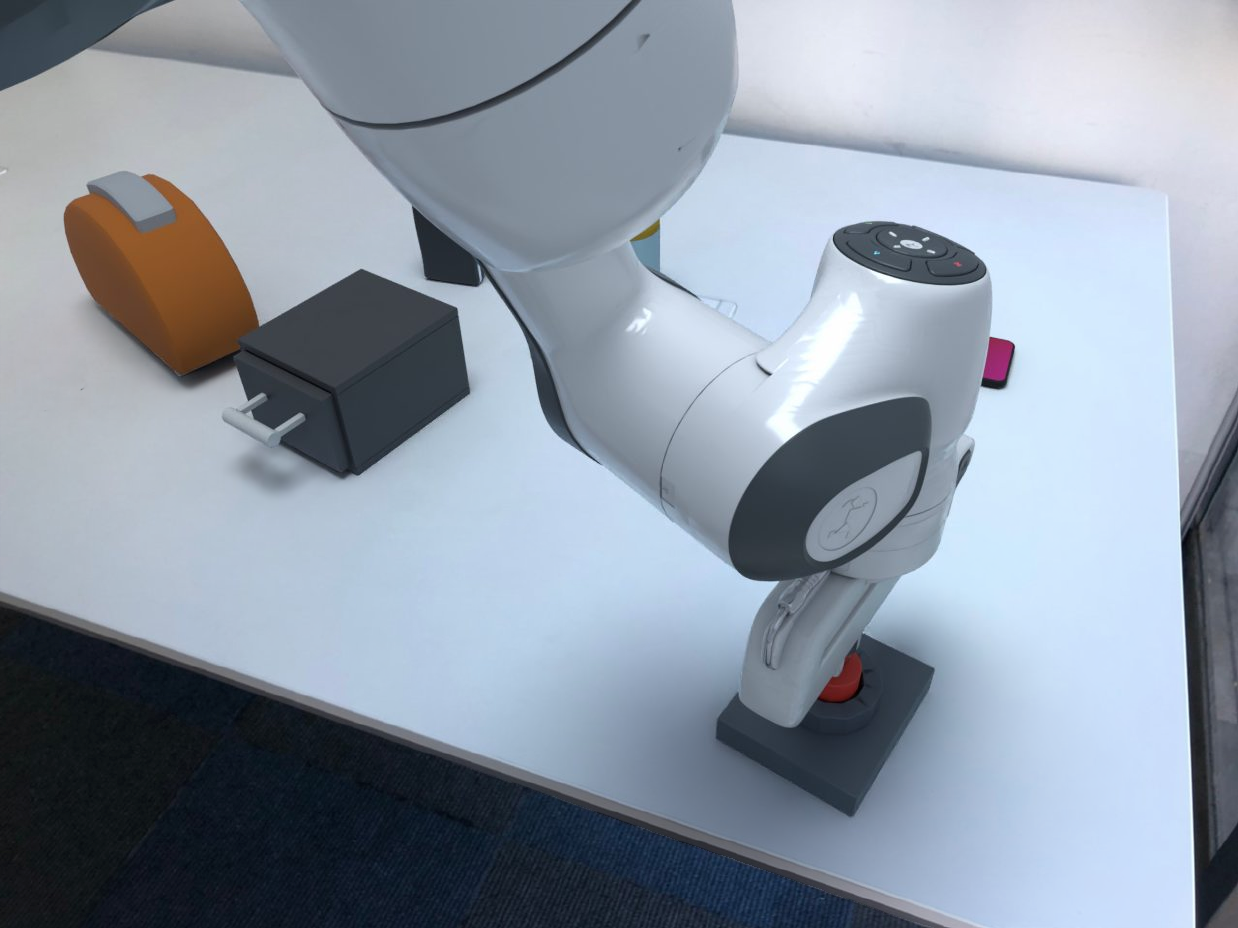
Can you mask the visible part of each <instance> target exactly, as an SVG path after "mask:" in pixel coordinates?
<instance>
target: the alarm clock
mask: <svg viewBox="0 0 1238 928" xmlns="http://www.w3.org/2000/svg"><path fill="white" fill-rule="evenodd" d="M86 188H87V191H88V194H85V195H82V196H79V197H76V198H74V199H73V200H71V201H70V202H69V203H68V204H67V205H66V206H65V209H64V212H63V227H64V234H65V238H66V241H67V245H68V248H69V252H70V254H71V256H72V259H73V261H74V263H75V266H76V268H77V271H78V274H79V276H80V277H81V279H82V282H83V284H84V286H85V288H86V290H87V291H88V293H89V295H90V296H91V297H92V299H93V300H94V301H95V302H96V303H97V304H98V305H99V306H101V308H103V309H104V310H105V312H107V313H108V314H109V316H111V317H112V318H113V319H115V320H116V321H117V322H118V323H119V324H121V325H122V326H123V327H124V328H125V329H126V330H128V331H129V333H130V334H132V335H133V336H134V337H136V338H137V340H139V341H140V342H141V343H142V344H143V345H144V346H145V347H146V348H148V349H149V350H150V351H151V352H153V354H155V356H156V357H158V358H159V359H160V360H161V361H163V362H164V363H165V364H166V365H167V366H168V367H169V368H170V369H171V370H173V371H174V373H175V374H176V375H177V376H179V377H183V376H185V375H188V374H189V373H191V372H194V371H196V370H198V369H200V368H203V367H205V366H207V365H209V364H211V363H213V362H216V361H217V360H220V359H222V358H224V357H226V356H229V355H231V354H233V353H235V352H238V351H241V350H240V346H239V343H238V340H237V339H239V338H241V337H242V336H244V335H246V334H248V333H249V332H251V331H253V330H255V329H256V328H258V327H260V326H261V325H260V322H259V318H258V314H257V311H256V308H255V305H254V301H253V298H252V295H251V292H250V290H249V289H248V288H249V287H248V286H247V284H246V281H245V280H244V278H243V276H242V273H241V271H240V269H239V267H238V265H237V263H236V262H235V260H234V258H233V256H232V254H231V252H230V251H229V249H228V248H227V246H226V244H225V242H224V241H223V239H222V238H221V236H220V235H219V233H218V232H217V231H216V229H215V228H214V226H213V225H212V223H211V222H210V220H209V219H208V218H207V216H206V215H205V214H204V213H203V212H202V210H201V209H200V208H199V206H198V205H197V203H195V201H194V200H192V199H191V198H190V197H189V196H188V195H187V194H185V192H183V191H182V190H181V189H180V188H178V187H177V186H176V185H175V184H173V182H172V181H169V180H168V179H165V178H163V177H160V176H158V175H156V174H153V173H147V174H145V175H142V176H140V175H138V174H137V173H134V172H132V171H128V170H120V171H116V172H114V173H111V174H107V175H105V176H102V177H98V178H96V179H94V180H90V181H87V183H86Z"/></svg>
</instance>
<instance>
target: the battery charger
mask: <svg viewBox="0 0 1238 928" xmlns="http://www.w3.org/2000/svg"><path fill="white" fill-rule="evenodd" d="M411 211H412V217H413V222H414V228H415V232H416V236H417V237H416V238H417V242H418V246H419V251H420V254H421V260H422V261H421V262H422V265H423V272H424V273H423V274H424V277H425V278H426V279H430V280H435V281H442V282H446V283H447V282H449V283H453V284H462V285H475V286H476V285H478V284H481V282H482V280H483V278H484V276H485V274H484V272H483V271H482V269H481V268H480V266H479V265H478V263H477V262H476V261H475V259H474V258H473V256H472V255H471V253H469V252H468V251H467V250H465V249H464V248H463V247H461V246H460V245H459V244H457V243H456V242H455V241H453V240H452V239H451V238H450V237H448V236H447V235H446V234H444V233H443V232H442V231H441V230H440V229H438V228H437V227H436V226H435V225H434V224H432V223H431V222H430V221H429V220H428V219H427V218H425V217H424V216H423V215H422V214H421V213H420V212H419V211H418V210H417V209H416V208H414V207H413V206H412V205H411Z"/></svg>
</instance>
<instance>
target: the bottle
mask: <svg viewBox="0 0 1238 928" xmlns="http://www.w3.org/2000/svg"><path fill="white" fill-rule="evenodd" d="M630 243H631V245H632V247H633V249H634V252H635V254H636V256H637V258H638V259H639V261H640V262H641V263H642V264H644V265H646V266H648V267H651V268H653V269H655V270H657V271H659V272H661V218H660V219H658V220H657V221H656V222H655V223H654V224H652V225H651V226H650V227H648V228H647V229H646V230H644V231H643V232H642V233H640V234H639V235H637V236H636V237H634V238H632V239H631V240H630Z"/></svg>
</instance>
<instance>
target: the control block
mask: <svg viewBox="0 0 1238 928" xmlns="http://www.w3.org/2000/svg"><path fill="white" fill-rule="evenodd" d="M855 653H856V654H857V655H858V657H859V659H860V661H861V664H862V671H861V676H860V681H859V685H858V689H857V691H856V693H855V694H854V695H853V696H852V697H851V698H849V699H848V700H846V701H843V702H837V703H832V702H826V701H823V700H820V699H818V698H817V699H816V701H815V702H814V704H813V705H812V707H811V708H810V709H809V711H808V712H807V714H806V715H805V717H804V718H803V720H802V721H801V723H800V724H799V725H797V726H796V727H793V728H789V727H783V726H780V725H778V724H776V723H773V722H771V721H769V720H767V719H765V718H764V717H762V716H760V715H758V714H757V713H755V712H754V711H752V710H750V709H749V708H747V707H746V706H745V705H744V704H743V703H742V702H741V701H740V698H739V690H737V692H736V693H735V695H734V696H733V697H732V698H731V700H730V701H729V702H728V704H727V705H726V706H725V707H724V709H723V710H722V712H721V713H720V714H719V715H718V717H717V718H716V729H715V739H716V740H719V741H720V742H721V743H724V744H725V745H727V746H729V747H730V748H732V749H734V750H736V751H737V752H739V753H741V754H742V755H744V756H746V757H748V758H750V759H751V760H753V761H755V762H756V763H758V764H760V765H761V766H763V767H765V768H767V769H768V770H770V771H771V772H774V773H775V774H777V775H779V776H781V777H782V778H784V779H785V780H787V781H788V782H791V783H792V784H794V785H796V786H798V787H799V788H801V789H802V790H804V791H806V792H808V793H810V794H811V795H812V796H814V797H816V798H818V799H820V800H822V801H823V802H824V803H826V804H829V805H830V806H832V807H834V808H835V809H837V810H839V811H841V812H842V813H844V814H845V815H847V816H849V817H850V818H853V817H854V816H855V814H856V812H857V810H858V809H859V807H860V805H861V804H862V802H863V801H864V799H865V797H866V795H867V793H868V792H869V790H870V789H871V787H872V785H873V784H874V782H875V780H876V778H877V777H878V775H879V774H880V772H881V770H882V768H883V767H884V765H885V763H886V761H887V760H888V759H889V757H890V755H891V753H892V752H893V750H894V749H895V747H896V745H897V744H898V742H899V740H900V738H901V737H902V735H903V734H904V732H905V730H906V729H907V726H908V725H909V723H910V721H911V720H912V718H913V717H914V715H915V713H916V712H917V710H918V709H919V707H920V705H921V703H922V701H923V700H924V698H925V696H926V695H927V693H928V691H929V690H930V687H931V684H932V681H933V678H934V674H935V671H936V668H935V667H933V666H932V665H930V664H927V663H925V662H924V661H921V660H920V659H916V658H915V657H913V656H911V655H909V654H906V653H905V652H902V651H900V650H898V649H897V648H894V647H892V646H890V645H888V644H886V643H885V642H882V641H880V640H878V639H876V638H873V637H872V636H870V635H867V634H865V633H864V632H863V633H862V636H861V640H860V645H859V647H858V648H857V650H856V651H855Z"/></svg>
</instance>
